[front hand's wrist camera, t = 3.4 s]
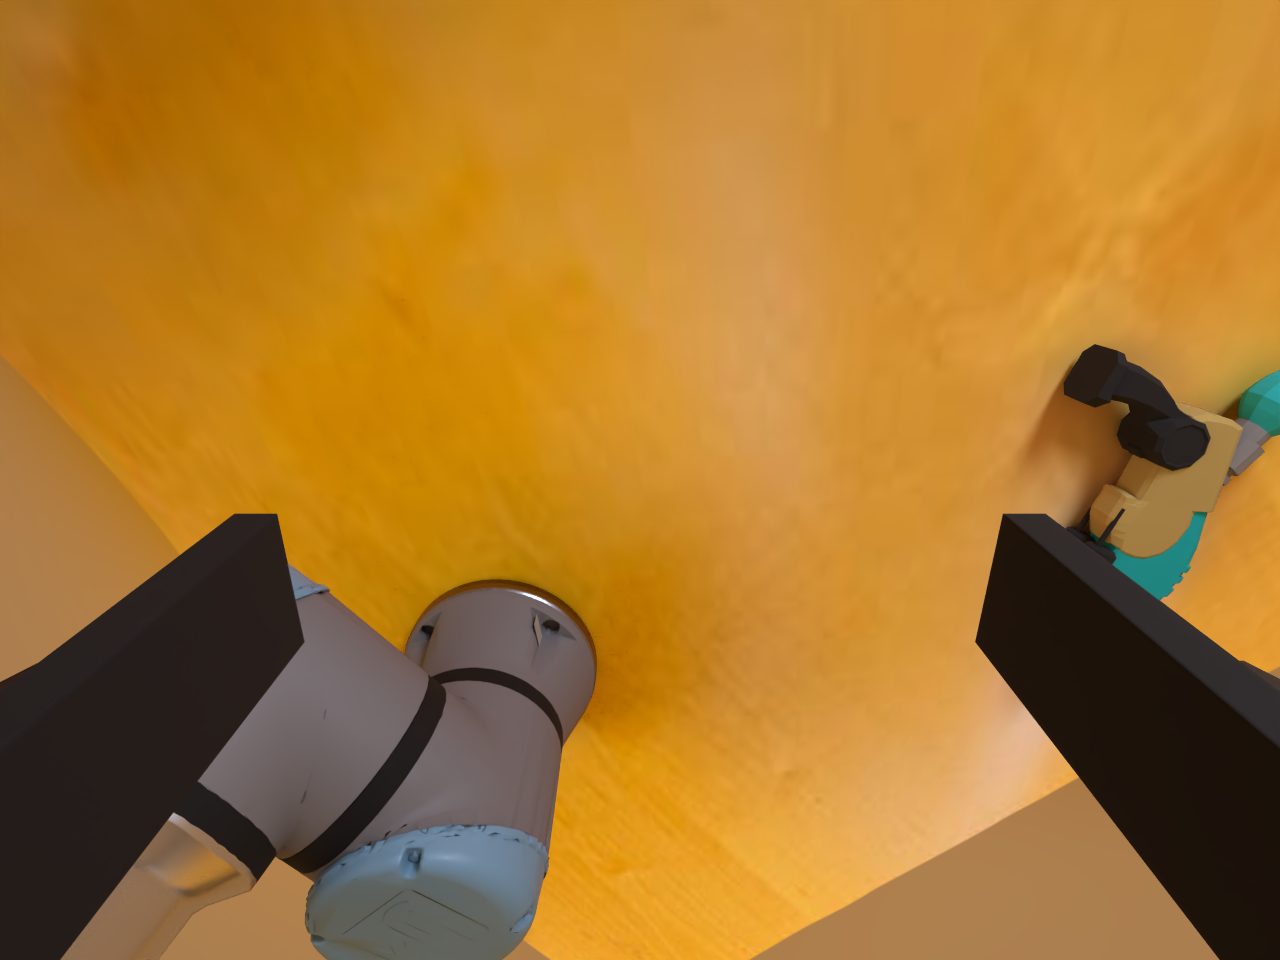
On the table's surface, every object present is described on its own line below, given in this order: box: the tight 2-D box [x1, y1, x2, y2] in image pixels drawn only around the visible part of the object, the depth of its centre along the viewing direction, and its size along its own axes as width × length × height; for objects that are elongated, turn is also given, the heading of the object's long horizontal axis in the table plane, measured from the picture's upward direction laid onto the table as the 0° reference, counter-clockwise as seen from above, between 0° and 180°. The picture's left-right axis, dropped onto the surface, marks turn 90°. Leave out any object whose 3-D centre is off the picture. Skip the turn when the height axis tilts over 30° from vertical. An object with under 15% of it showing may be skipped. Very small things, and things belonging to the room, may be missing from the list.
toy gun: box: [1064, 344, 1280, 600], centre depth 48 cm, size 4×26×15 cm
